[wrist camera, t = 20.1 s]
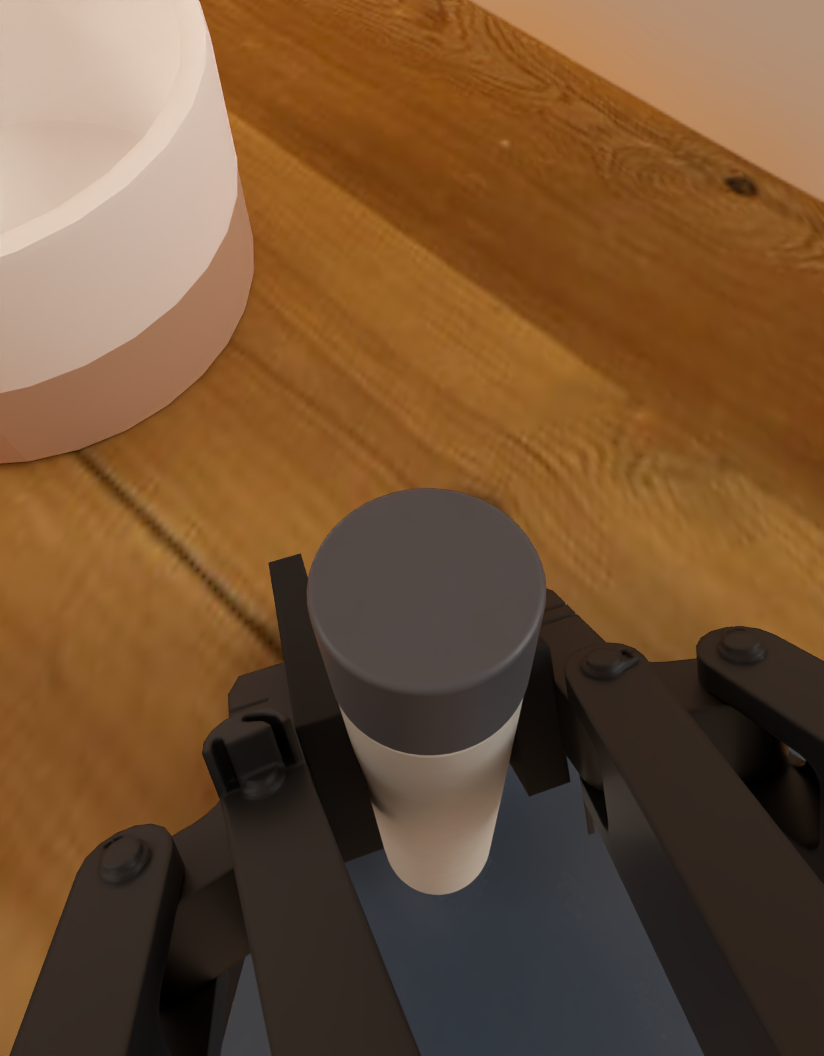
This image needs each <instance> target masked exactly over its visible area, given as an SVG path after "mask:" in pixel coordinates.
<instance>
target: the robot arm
mask: <svg viewBox="0 0 824 1056" xmlns="http://www.w3.org/2000/svg"><path fill="white" fill-rule="evenodd" d="M269 569H270V575H271V582H272V588H273V594H274V601H275V607H276V613H277V620H278V626H279V632H280V638H281V645H282V651H283V657H284V663H280V664H277V665H274V666H271V667H267V668H264V669H261V670H258V671H255V672H251V673H248V674H245V675H242V676H239V677H238V678H237V680H236V682H235V684H234V685H233V687H232V689H231V690H230V692H229V694H228V706H229V718H228V719H226V720H224V721H223V722H222V723H221V724H219V725H218V726H217V727H216V728H215V729H213V730H212V731H211V733H210V734H209V735H208V737H207V738H206V740H205V741H204V744H203V751H202V755H203V757H204V760H205V762H206V765H207V768H208V770H209V773H210V775H211V778H212V780H213V783H214V785H215V788H216V790H217V793H218V795H219V798H220V801H219V802H218V803H217V805H216V806H215V807H214V808H213V809H212V810H211V811H209V812H208V813H207V814H206V815H205V816H204V817H202V818H201V819H199V820H198V821H196V822H195V823H193V824H192V825H190V826H188V827H187V828H185V829H183V830H181V831H180V832H178V833H176V834H175V835H173V836H171V834H170V833H169V832H168V831H167V830H166V828H165V827H162V826H158V825H155V824H145V825H136V826H133V827H130V828H128V829H125V830H123V831H120V832H118V833H116V834H114V835H113V836H111V837H110V838H108V839H107V840H105V841H104V842H102V843H101V844H99V845H98V846H97V847H96V848H95V849H94V850H93V851H92V852H91V853H90V854H89V855H88V856H87V857H86V858H85V860H84V862H83V864H82V865H81V867H80V869H79V871H78V872H77V874H76V877H75V880H74V882H73V885H72V888H71V890H70V893H69V896H68V899H67V901H66V904H65V907H64V909H63V912H62V915H61V917H60V920H59V923H58V926H57V928H56V931H55V934H54V936H53V939H52V942H51V945H50V947H49V950H48V953H47V955H46V958H45V961H44V964H43V966H42V969H41V972H40V974H39V977H38V980H37V982H36V985H35V988H34V991H33V993H32V996H31V999H30V1001H29V1004H28V1007H27V1010H26V1012H25V1015H24V1018H23V1020H22V1023H21V1026H20V1029H19V1031H18V1034H17V1037H16V1039H15V1042H14V1045H13V1047H12V1050H11V1053H10V1056H221V1048H222V1038H223V1029H224V1020H225V1010H226V1001H227V992H228V982H229V973H228V969H229V968H230V967H232V966H233V965H235V964H236V963H237V962H239V961H240V960H242V959H243V958H245V957H246V956H248V955H249V954H250V953H251V957H252V962H253V967H254V972H255V977H256V982H257V987H258V992H259V996H260V1001H261V1006H262V1011H263V1016H264V1021H265V1026H266V1031H267V1036H268V1041H269V1046H270V1051H271V1056H421V1054H420V1051H419V1049H418V1046H417V1044H416V1041H415V1038H414V1036H413V1033H412V1031H411V1028H410V1026H409V1023H408V1021H407V1018H406V1016H405V1013H404V1011H403V1008H402V1006H401V1003H400V1001H399V998H398V996H397V993H396V991H395V988H394V986H393V983H392V981H391V978H390V976H389V973H388V971H387V968H386V966H385V963H384V961H383V958H382V956H381V953H380V951H379V948H378V946H377V943H376V940H375V938H374V935H373V933H372V930H371V928H370V925H369V923H368V920H367V918H366V915H365V913H364V910H363V908H362V905H361V903H360V900H359V898H358V895H357V893H356V890H355V888H354V885H353V883H352V880H351V878H350V875H349V873H348V870H347V868H346V865H345V862H348V861H350V860H353V859H356V858H359V857H362V856H364V855H367V854H370V853H373V852H376V851H378V850H381V849H384V846H383V842H382V839H381V835H380V831H379V828H378V824H377V821H376V817H375V814H374V810H373V806H372V803H371V799H370V796H369V793H368V790H367V786H366V783H365V780H364V777H363V773H362V770H361V767H360V764H359V762H358V759H357V757H356V755H355V753H354V750H353V747H352V744H351V741H350V738H349V735H348V732H347V729H346V726H345V722H344V719H343V716H342V713H341V710H340V707H339V703H338V701H337V700H336V698H335V695H334V692H333V689H332V686H331V683H330V680H329V677H328V674H327V671H326V668H325V665H324V661H323V658H322V655H321V652H320V649H319V646H318V643H317V640H316V636H315V633H314V630H313V627H312V624H311V621H310V617H309V612H308V607H307V583H308V577H307V574H306V570H305V567H304V563H303V560H302V557H301V554H297V555H294V556H290V557H287V558H283V559H280V560H276V561H273V562H269ZM696 653H697V659H688V660H679V661H669V662H648V660H647V659H646V658H645V656H644V655H642V654H641V653H640V652H639V651H637V650H636V649H635V648H632V647H629V646H626V645H624V644H619V643H607V642H605V641H604V640H603V639H602V638H601V637H600V636H599V635H598V634H597V633H596V632H595V631H594V630H593V629H592V628H591V627H590V626H589V625H588V624H586V623H585V622H584V621H583V620H582V619H581V618H580V617H579V616H578V615H576V614H575V612H574V611H573V610H572V609H571V608H570V607H569V606H568V605H566V604H565V602H564V601H563V600H562V599H561V598H560V597H559V596H558V595H557V594H556V593H555V592H554V591H552V590H549V589H547V588H546V605H545V610H544V615H543V619H542V624H541V628H540V633H539V637H538V642H537V646H536V650H535V655H534V659H533V664H532V668H531V673H530V677H529V682H528V686H527V689H526V691H525V694H524V697H523V701H522V706H521V710H520V715H519V719H518V724H517V729H516V733H515V738H514V742H513V747H512V751H511V756H510V760H509V763H510V765H511V766H512V768H513V770H514V772H515V773H516V775H517V777H518V778H519V780H520V782H521V784H522V785H523V787H524V789H525V791H526V792H527V794H528V796H529V797H530V796H533V795H535V794H538V793H541V792H544V791H547V790H549V789H552V788H555V787H558V786H561V785H564V784H566V783H569V782H570V775H569V769H568V762H567V757H568V759H569V760H570V762H571V763H572V764H573V766H574V767H575V769H576V770H577V771H578V773H579V776H580V783H581V790H582V797H583V803H584V810H585V817H586V824H587V829H588V835H590V834H594V833H595V829H594V823H595V825H596V827H597V830H598V832H599V834H600V836H601V838H602V840H603V842H604V844H605V847H606V849H607V851H608V853H609V855H610V857H611V859H612V861H613V863H614V866H615V868H616V870H617V872H618V874H619V876H620V878H621V880H622V883H623V885H624V887H625V889H626V891H627V893H628V895H629V897H630V899H631V902H632V904H633V906H634V908H635V910H636V912H637V914H638V916H639V919H640V921H641V923H642V925H643V927H644V929H645V931H646V933H647V935H648V938H649V940H650V942H651V944H652V946H653V948H654V950H655V952H656V955H657V957H658V959H659V961H660V963H661V965H662V967H663V969H664V972H665V974H666V976H667V978H668V980H669V982H670V984H671V986H672V988H673V991H674V993H675V995H676V997H677V999H678V1001H679V1003H680V1005H681V1008H682V1010H683V1012H684V1014H685V1016H686V1018H687V1020H688V1022H689V1024H690V1027H691V1029H692V1031H693V1033H694V1035H695V1037H696V1039H697V1041H698V1044H699V1046H700V1048H701V1050H702V1052H703V1054H704V1056H824V661H823V660H821V659H819V658H817V657H815V656H813V655H811V654H810V653H808V652H806V651H804V650H802V649H800V648H799V647H797V646H795V645H793V644H791V643H789V642H787V641H786V640H784V639H782V638H780V637H778V636H776V635H774V634H772V633H769V632H767V631H764V630H761V629H757V628H750V627H743V626H735V627H725V628H721V629H718V630H714V631H711V632H709V633H708V634H706V635H704V636H703V637H701V638H700V640H699V642H698V644H697V646H696ZM789 747H790V748H791V749H793V750H794V751H796V752H797V753H798V754H800V755H801V756H802V757H803V758H804V759H805V760H806V761H804V760H802V759H801V758H799V757H797V756H796V755H794V754H793V753H792V752H790V751H789Z"/></svg>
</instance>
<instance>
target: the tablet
mask: <svg viewBox="0 0 824 1056" xmlns="http://www.w3.org/2000/svg"><path fill="white" fill-rule="evenodd" d="M789 751H790V752H792V753H793V754H794V755H796V756H797V757H799V758H801V759H802V760H804V761H806V760H805V759H804V758H803V757H802V756H801V755H800V754H798V753H797V752H796V751H794V750H793V749H791V748H790V747H789ZM567 762H568V769H569V775H570V782H569V783H566V784H564V785H561V786H558V787H555V788H552V789H549V790H547V791H544V792H541V793H538V794H535V795H533V796H530V797H529V796H528V794H527V792H526V791H525V789H524V787H523V785H522V784H521V782H520V780H519V778H518V777H517V775H516V773H515V772H514V770H513V768H512V766H511V765H510V763H509V765H508V769H507V774H506V778H505V783H504V788H503V792H502V797H501V801H500V806H499V810H498V815H497V819H496V824H495V828H494V833H493V838H492V842H491V847H490V851H489V855H488V858H487V861H486V863H485V865H484V867H483V869H482V870H481V872H480V873H479V875H478V876H477V877H476V878H475V879H474V880H473V881H472V882H471V883H470V884H469V885H467V886H466V887H464V888H462V889H460V890H458V891H456V892H453V893H449V894H443V895H432V894H426V893H423V892H420V891H417V890H415V889H413V888H412V887H410V886H408V885H407V884H406V883H405V882H403V881H402V880H401V879H400V878H399V877H398V875H397V874H396V873H395V872H394V870H393V869H392V867H391V865H390V863H389V861H388V858H387V855H386V852H385V849H381V850H378V851H376V852H373V853H370V854H367V855H364V856H362V857H359V858H356V859H353V860H350V861H348V862H345V865H346V868H347V870H348V873H349V875H350V878H351V880H352V883H353V885H354V888H355V890H356V893H357V895H358V898H359V900H360V903H361V905H362V908H363V910H364V913H365V915H366V918H367V920H368V923H369V925H370V928H371V930H372V933H373V935H374V938H375V940H376V943H377V946H378V948H379V951H380V953H381V956H382V958H383V961H384V963H385V966H386V968H387V971H388V973H389V976H390V978H391V981H392V983H393V986H394V988H395V991H396V993H397V996H398V998H399V1001H400V1003H401V1006H402V1008H403V1011H404V1013H405V1016H406V1018H407V1021H408V1023H409V1026H410V1028H411V1031H412V1033H413V1036H414V1038H415V1041H416V1044H417V1046H418V1049H419V1051H420V1054H421V1056H704V1054H703V1052H702V1050H701V1048H700V1046H699V1044H698V1041H697V1039H696V1037H695V1035H694V1033H693V1031H692V1029H691V1027H690V1024H689V1022H688V1020H687V1018H686V1016H685V1014H684V1012H683V1010H682V1008H681V1005H680V1003H679V1001H678V999H677V997H676V995H675V993H674V991H673V988H672V986H671V984H670V982H669V980H668V978H667V976H666V974H665V972H664V969H663V967H662V965H661V963H660V961H659V959H658V957H657V955H656V952H655V950H654V948H653V946H652V944H651V942H650V940H649V938H648V935H647V933H646V931H645V929H644V927H643V925H642V923H641V921H640V919H639V916H638V914H637V912H636V910H635V908H634V906H633V904H632V902H631V899H630V897H629V895H628V893H627V891H626V889H625V887H624V885H623V883H622V880H621V878H620V876H619V874H618V872H617V870H616V868H615V866H614V863H613V861H612V859H611V857H610V855H609V853H608V851H607V849H606V847H605V844H604V842H603V840H602V838H601V836H600V834H599V832H598V830H597V827H596V825H595V823H594V829H595V833H594V834H590V835H588V829H587V824H586V817H585V810H584V803H583V797H582V790H581V783H580V776H579V773H578V771H577V770H576V769H575V767H574V766H573V764H572V763H571V762H570V760H569V759H568V757H567ZM228 973H229V982H228V992H227V1001H226V1010H225V1020H224V1029H223V1038H222V1048H221V1056H271V1051H270V1046H269V1041H268V1036H267V1031H266V1026H265V1021H264V1016H263V1011H262V1006H261V1001H260V996H259V992H258V987H257V982H256V977H255V972H254V967H253V962H252V957H251V953H250V954H249V955H248V956H246V957H245V958H243V959H242V960H240V961H239V962H237V963H236V964H235V965H233V966H232V967H230V968H229V969H228Z"/></svg>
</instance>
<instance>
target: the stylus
mask: <svg viewBox="0 0 824 1056" xmlns="http://www.w3.org/2000/svg"><path fill="white" fill-rule="evenodd" d="M545 605H546V581H545V574H544V570H543V567H542V563H541V560H540V558H539V556H538V553H537V551H536V549H535V548H534V546H533V544H532V543H531V541H530V539H529V538H528V536H527V535H526V534H525V533H524V531H523V530H522V529H521V528H520V526H519V525H518V524H517V523H515V522H514V521H513V520H512V519H511V518H510V517H509V516H508V515H506V514H505V513H504V512H502V511H501V510H500V509H498V508H497V507H495V506H493V505H491V504H490V503H488V502H486V501H484V500H481V499H479V498H477V497H474V496H471V495H468V494H465V493H461V492H457V491H452V490H446V489H435V488H421V489H410V490H403V491H399V492H394V493H390V494H387V495H384V496H381V497H378V498H376V499H374V500H372V501H370V502H367V503H365V504H364V505H362V506H360V507H359V508H357V509H355V510H354V511H352V512H351V513H350V514H348V515H347V516H346V517H345V518H343V519H342V520H341V521H340V522H339V523H338V524H337V525H336V526H335V527H334V528H333V529H332V530H331V532H330V533H329V534H328V535H327V537H326V538H325V539H324V541H323V543H322V544H321V546H320V548H319V549H318V551H317V553H316V556H315V558H314V560H313V563H312V565H311V569H310V573H309V576H308V583H307V607H308V612H309V617H310V621H311V624H312V627H313V630H314V633H315V636H316V640H317V643H318V646H319V649H320V652H321V655H322V658H323V661H324V665H325V668H326V671H327V674H328V677H329V680H330V683H331V686H332V689H333V692H334V695H335V698H336V700H337V701H338V703H339V707H340V710H341V713H342V716H343V719H344V722H345V726H346V729H347V732H348V735H349V738H350V741H351V744H352V747H353V750H354V753H355V755H356V757H357V759H358V762H359V764H360V767H361V770H362V773H363V777H364V780H365V783H366V786H367V790H368V793H369V796H370V799H371V803H372V806H373V810H374V814H375V817H376V821H377V824H378V828H379V831H380V835H381V839H382V842H383V846H384V849H385V852H386V855H387V858H388V861H389V863H390V865H391V867H392V869H393V870H394V872H395V873H396V874H397V875H398V877H399V878H400V879H401V880H402V881H403V882H405V883H406V884H407V885H408V886H410V887H412V888H413V889H415V890H417V891H420V892H423V893H426V894H432V895H443V894H449V893H453V892H456V891H458V890H460V889H462V888H464V887H466V886H467V885H469V884H470V883H471V882H472V881H473V880H474V879H475V878H476V877H477V876H478V875H479V873H480V872H481V870H482V869H483V867H484V865H485V863H486V861H487V858H488V855H489V851H490V847H491V842H492V838H493V833H494V828H495V824H496V819H497V815H498V810H499V806H500V801H501V797H502V792H503V788H504V783H505V778H506V774H507V769H508V765H509V760H510V756H511V751H512V747H513V742H514V738H515V733H516V729H517V724H518V719H519V715H520V710H521V706H522V701H523V697H524V694H525V691H526V689H527V686H528V682H529V677H530V673H531V668H532V664H533V659H534V655H535V650H536V646H537V642H538V637H539V633H540V628H541V624H542V619H543V615H544V610H545Z"/></svg>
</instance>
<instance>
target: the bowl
mask: <svg viewBox="0 0 824 1056" xmlns="http://www.w3.org/2000/svg"><path fill="white" fill-rule="evenodd" d="M253 275H254V240H253V235H252V231H251V226H250V222H249V217H248V213H247V208H246V203H245V199H244V194H243V190H242V185H241V181H240V176H239V171H238V167H237V157H236V152H235V148H234V143H233V138H232V134H231V129H230V125H229V120H228V115H227V111H226V106H225V102H224V97H223V92H222V88H221V83H220V79H219V74H218V69H217V65H216V60H215V56H214V51H213V46H212V42H211V37H210V34H209V31H208V27H207V24H206V21H205V17H204V14H203V11H202V8H201V4H200V2H199V0H0V463H14V462H28V461H33V460H37V459H41V458H46V457H50V456H54V455H58V454H63V453H67V452H71V451H75V450H80V449H82V448H84V447H87V446H89V445H92V444H94V443H97V442H99V441H102V440H104V439H107V438H109V437H111V436H114V435H116V434H119V433H121V432H124V431H126V430H128V429H130V428H131V427H133V426H135V425H136V424H138V423H139V422H141V421H143V420H144V419H146V418H148V417H149V416H151V415H153V414H154V413H156V412H158V411H159V410H161V409H163V408H164V407H166V406H168V405H169V404H170V403H171V402H172V401H173V400H175V399H176V398H177V397H178V396H179V395H180V394H182V393H183V392H184V391H185V390H186V389H187V388H188V387H190V386H191V385H192V384H193V383H194V382H195V381H197V380H198V379H199V378H200V377H201V376H202V375H203V374H204V373H205V371H206V370H207V369H208V368H209V366H210V365H211V364H212V363H213V361H214V360H215V359H216V358H217V356H218V355H219V354H220V353H221V351H222V350H223V349H224V348H225V346H226V345H227V344H228V342H229V340H230V338H231V336H232V334H233V332H234V330H235V328H236V327H237V325H238V323H239V321H240V319H241V317H242V315H243V313H244V311H245V308H246V304H247V300H248V295H249V291H250V287H251V283H252V279H253Z"/></svg>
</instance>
